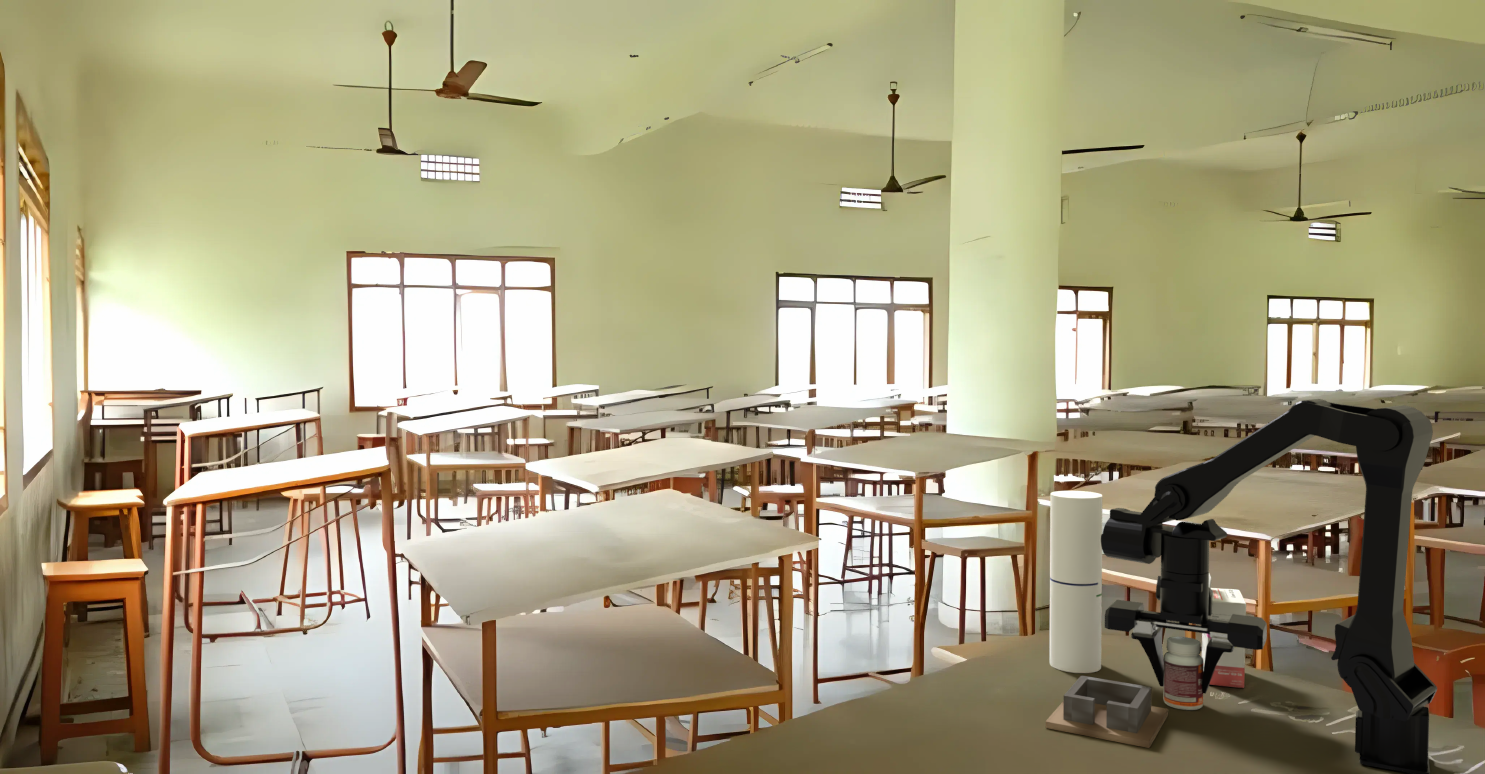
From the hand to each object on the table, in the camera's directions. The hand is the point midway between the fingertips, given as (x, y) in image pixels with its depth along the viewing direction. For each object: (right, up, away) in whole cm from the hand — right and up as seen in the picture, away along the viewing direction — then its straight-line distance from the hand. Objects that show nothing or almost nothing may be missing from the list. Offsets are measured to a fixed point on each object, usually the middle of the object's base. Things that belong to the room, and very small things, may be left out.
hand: (1183, 688), depth 132 cm
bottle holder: (-12, -2, -5) cm, 13 cm away
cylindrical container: (-9, -2, +16) cm, 18 cm away
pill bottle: (0, -2, 0) cm, 2 cm away
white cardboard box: (+10, -2, +10) cm, 15 cm away
